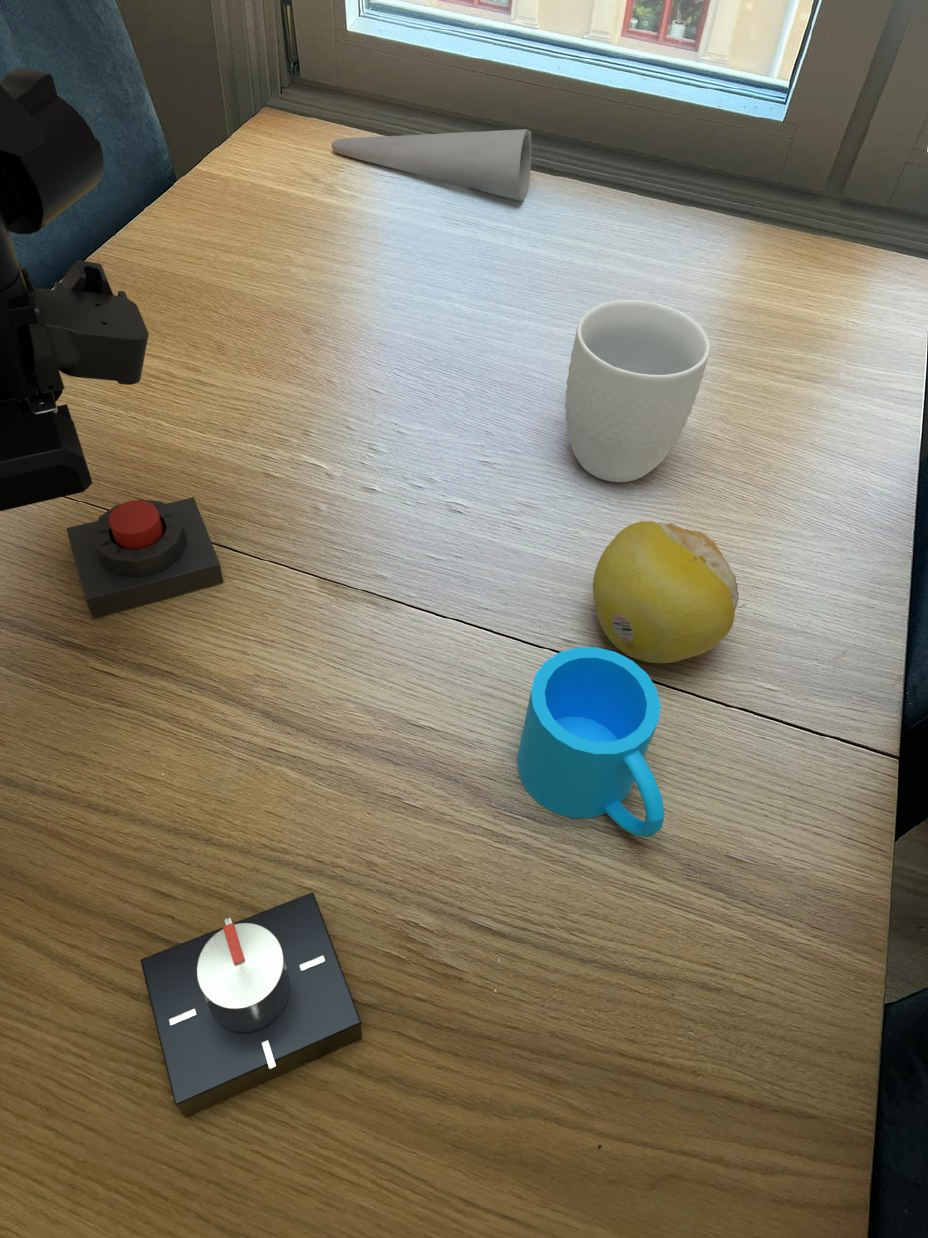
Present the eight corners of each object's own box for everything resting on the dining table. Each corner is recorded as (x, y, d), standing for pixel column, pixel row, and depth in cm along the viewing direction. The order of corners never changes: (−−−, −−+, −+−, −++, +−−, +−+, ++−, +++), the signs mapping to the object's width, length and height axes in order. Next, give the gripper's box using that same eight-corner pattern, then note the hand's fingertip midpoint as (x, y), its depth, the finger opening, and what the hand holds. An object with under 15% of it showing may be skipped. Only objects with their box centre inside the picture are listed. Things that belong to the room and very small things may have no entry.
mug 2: (494, 744, 65) (506, 676, 59) (589, 699, 68) (610, 629, 62) (593, 888, 59) (618, 828, 53) (692, 831, 62) (727, 768, 56)
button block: (92, 619, 70) (79, 583, 67) (73, 547, 74) (59, 511, 71) (223, 583, 73) (216, 547, 70) (197, 516, 78) (190, 480, 75)
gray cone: (307, 140, 113) (518, 148, 108) (329, 110, 118) (531, 116, 113) (318, 203, 119) (519, 213, 114) (339, 172, 124) (531, 180, 119)
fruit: (692, 710, 68) (731, 624, 61) (560, 648, 71) (581, 558, 63) (736, 619, 74) (777, 530, 66) (613, 565, 77) (638, 474, 69)
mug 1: (526, 403, 90) (543, 279, 80) (631, 390, 92) (661, 269, 82) (577, 508, 81) (604, 383, 71) (692, 492, 83) (734, 369, 73)
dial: (300, 1011, 50) (294, 985, 47) (220, 1047, 49) (208, 1022, 46) (275, 937, 53) (268, 907, 49) (198, 969, 51) (185, 940, 48)
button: (119, 555, 70) (114, 538, 68) (109, 523, 72) (104, 506, 70) (167, 542, 71) (163, 526, 69) (157, 511, 73) (152, 495, 71)
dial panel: (186, 1124, 49) (176, 1110, 47) (149, 972, 54) (138, 953, 52) (364, 1044, 52) (363, 1027, 50) (314, 907, 57) (311, 885, 55)
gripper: (157, 342, 47) (204, 557, 59) (86, 174, 57) (138, 385, 69) (-86, 389, 43) (17, 606, 55) (-114, 200, 54) (-23, 418, 66)
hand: (45, 492), depth 61 cm, fingers closed
